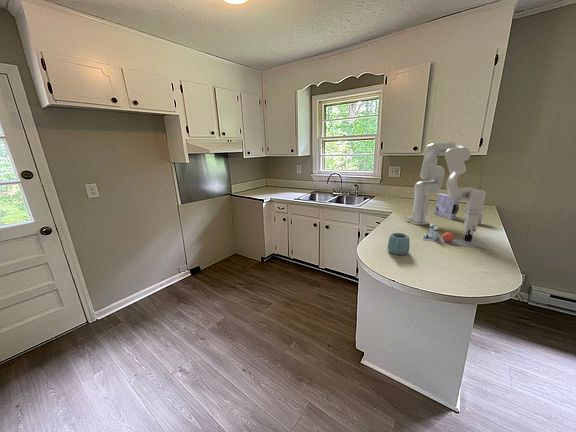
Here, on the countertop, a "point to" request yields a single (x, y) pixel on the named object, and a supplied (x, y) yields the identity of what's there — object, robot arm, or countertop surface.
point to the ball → (448, 237)
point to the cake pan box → (446, 206)
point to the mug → (398, 244)
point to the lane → (458, 242)
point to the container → (478, 219)
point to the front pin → (430, 236)
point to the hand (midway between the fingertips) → (467, 241)
